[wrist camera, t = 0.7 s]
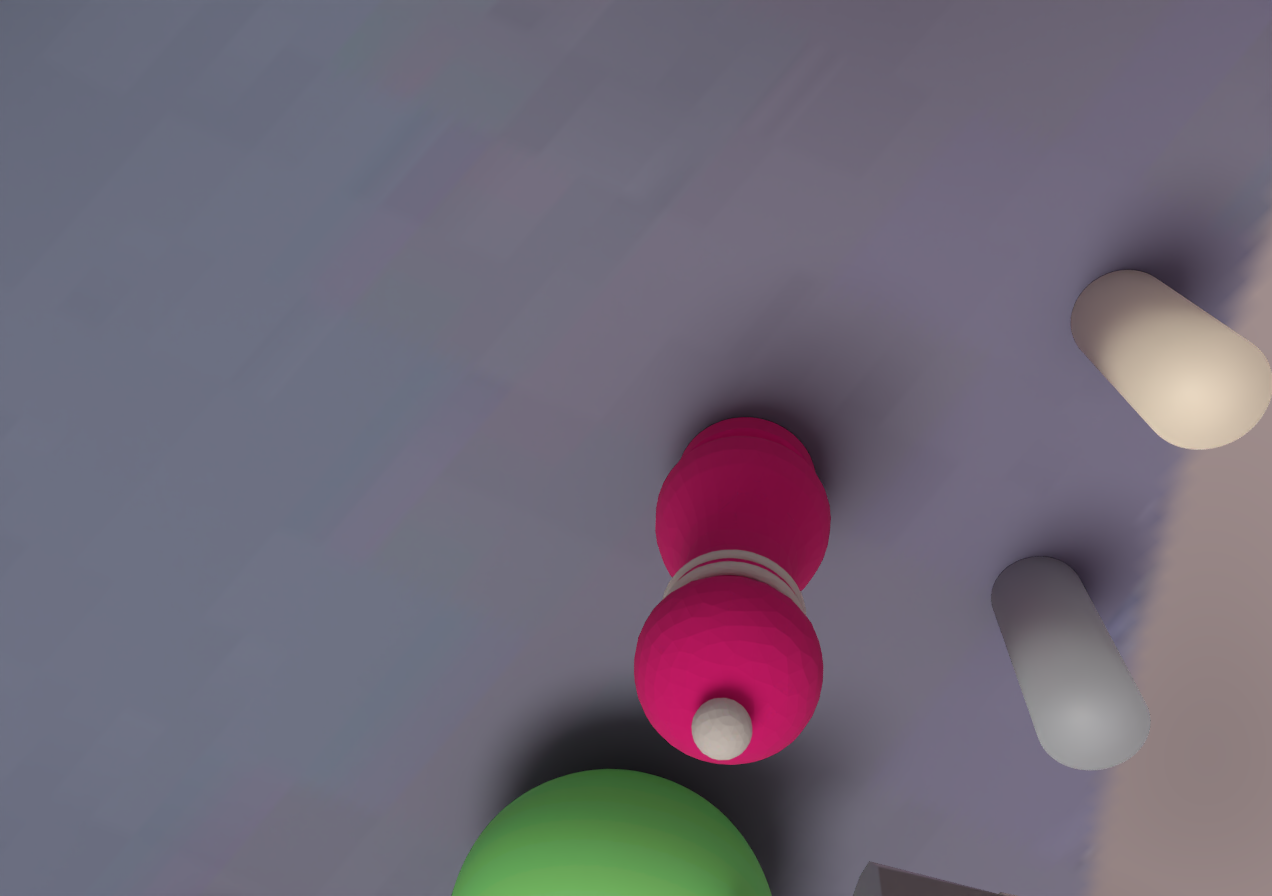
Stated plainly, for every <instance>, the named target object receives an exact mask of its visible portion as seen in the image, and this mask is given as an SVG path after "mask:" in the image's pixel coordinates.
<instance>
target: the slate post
mask: <svg viewBox="0 0 1272 896" xmlns="http://www.w3.org/2000/svg"><path fill="white" fill-rule="evenodd" d="M991 602H992V607H993V610H994V613H995V616H996V619H997V622H998V625H999V627H1000V630H1001V633H1002V636H1003V639H1004V642H1005V644H1006V647H1007V650H1008V653H1009V656H1010V659H1011V662H1012V664H1013V667H1014V670H1015V673H1016V676H1017V679H1018V682H1019V684H1020V687H1021V690H1022V693H1023V696H1024V699H1025V701H1026V704H1027V707H1028V710H1029V713H1030V716H1031V719H1032V721H1033V724H1034V727H1035V730H1036V733H1037V736H1038V739H1039V741H1040V743H1041V745H1042V747H1043V748H1044V750H1045V751H1046V752H1047V753H1048V754H1049V755H1050V756H1051V757H1052V758H1053V759H1055V760H1056V761H1058V762H1060V763H1061V764H1064V765H1066V766H1068V767H1072V768H1075V769H1080V770H1101V769H1106V768H1110V767H1113V766H1116V765H1118V764H1121V763H1123V762H1124V761H1126V760H1128V759H1129V758H1131V757H1132V756H1133V755H1134V754H1136V753H1137V752H1138V751H1139V749H1140V748H1141V747H1142V746H1143V744H1144V742H1145V741H1146V739H1147V736H1148V734H1149V730H1150V721H1151V720H1150V714H1149V710H1148V707H1147V705H1146V703H1145V701H1144V699H1143V697H1142V695H1141V693H1140V692H1139V690H1138V688H1137V686H1136V684H1135V682H1134V680H1133V678H1132V676H1131V674H1130V673H1129V671H1128V669H1127V667H1126V665H1125V663H1124V661H1123V659H1122V657H1121V656H1120V654H1119V652H1118V650H1117V648H1116V646H1115V644H1114V642H1113V640H1112V639H1111V637H1110V635H1109V633H1108V631H1107V629H1106V627H1105V625H1104V623H1103V622H1102V620H1101V618H1100V616H1099V614H1098V612H1097V610H1096V608H1095V606H1094V604H1093V603H1092V601H1091V599H1090V597H1089V595H1088V593H1087V591H1086V589H1085V587H1084V586H1083V584H1082V582H1081V580H1080V578H1079V576H1078V575H1077V573H1076V572H1075V571H1074V570H1073V569H1072V568H1071V567H1070V566H1068V565H1067V564H1065V563H1064V562H1062V561H1060V560H1057V559H1054V558H1049V557H1030V558H1026V559H1022V560H1020V561H1017V562H1015V563H1013V564H1012V565H1010V566H1009V567H1007V568H1006V569H1005V570H1004V571H1003V572H1002V573H1001V574H1000V575H999V577H998V578H997V580H996V581H995V583H994V586H993V589H992V594H991Z"/></svg>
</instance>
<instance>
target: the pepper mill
mask: <svg viewBox="0 0 1272 896" xmlns="http://www.w3.org/2000/svg"><path fill="white" fill-rule="evenodd" d="M830 521H831V515H830V506H829V502H828V499H827V495H826V492H825V489H824V487H823V485H822V483H821V481H820V480H819V478H818V476H817V475H816V473H815V468H814V465H813V462H812V459H811V457H810V455H809V453H808V451H807V450H806V448H805V447H804V445H803V444H802V443H801V442H800V441H799V440H798V439H797V438H796V437H795V436H794V435H793V434H792V433H791V432H789V431H788V430H787V429H785V428H783V427H782V426H780V425H778V424H775V423H773V422H771V421H767V420H763V419H759V418H752V417H739V418H731V419H727V420H723V421H720V422H718V423H715V424H713V425H711V426H709V427H708V428H706V429H705V430H703V431H702V432H700V433H699V434H698V435H697V436H696V437H695V438H694V439H693V440H692V441H691V442H690V443H689V445H688V446H687V448H686V449H685V451H684V453H683V455H682V457H681V460H680V461H679V462H678V463H677V464H676V465H675V467H674V468H673V469H672V470H671V472H670V473H669V475H668V476H667V478H666V480H665V481H664V483H663V486H662V488H661V491H660V493H659V497H658V502H657V507H656V530H655V531H656V538H657V544H658V547H659V550H660V553H661V556H662V559H663V561H664V564H665V566H666V568H667V570H668V572H669V574H670V575H671V577H672V579H671V580H670V582H669V584H668V586H667V588H666V590H665V592H664V596H663V600H662V601H661V602H660V603H659V604H658V605H657V606H656V607H655V608H654V609H653V611H652V612H651V614H650V616H649V617H648V619H647V620H646V622H645V624H644V626H643V628H642V631H641V633H640V635H639V637H638V642H637V647H636V653H635V658H634V677H635V684H636V689H637V694H638V698H639V701H640V703H641V705H642V708H643V710H644V712H645V715H646V716H647V718H648V720H649V721H650V723H651V724H652V726H653V727H654V728H655V729H656V731H657V732H658V733H659V734H660V735H661V736H662V737H663V738H664V739H665V740H666V741H667V742H668V743H669V744H671V745H672V746H673V747H675V748H677V749H678V750H680V751H681V752H683V753H685V754H686V755H689V756H691V757H694V758H696V759H699V760H702V761H706V762H711V763H715V764H727V765H736V764H745V763H751V762H755V761H759V760H763V759H765V758H767V757H769V756H772V755H774V754H776V753H778V752H780V751H781V750H782V749H784V748H785V747H786V746H788V745H789V744H791V743H792V742H793V741H794V740H795V739H796V738H797V737H798V735H799V734H800V733H801V732H802V730H803V729H804V728H805V726H806V725H807V723H808V722H809V720H810V719H811V717H812V716H813V713H814V711H815V708H816V706H817V703H818V701H819V697H820V692H821V687H822V682H823V660H822V653H821V648H820V644H819V640H818V638H817V636H816V633H815V631H814V628H813V626H812V624H811V622H810V621H809V619H808V618H807V617H806V609H805V604H804V600H803V597H802V594H801V592H800V591H802V590H803V589H804V588H805V586H806V585H807V584H808V582H809V581H810V580H811V578H812V577H813V575H814V574H815V572H816V571H817V569H818V567H819V566H820V564H821V562H822V560H823V558H824V555H825V551H826V548H827V545H828V539H829V533H830Z"/></svg>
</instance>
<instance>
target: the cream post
mask: <svg viewBox="0 0 1272 896" xmlns="http://www.w3.org/2000/svg"><path fill="white" fill-rule="evenodd" d="M1071 331H1072V335H1073V338H1074V340H1075V342H1076V344H1077V346H1078V347H1079V349H1080V350H1081V351H1082V352H1083V353H1084V354H1085V355H1086V356H1087V358H1088V359H1089V360H1090V361H1091V362H1092V363H1093V364H1094V365H1095V366H1096V367H1097V369H1098V370H1099V371H1100V372H1101V373H1102V374H1103V375H1104V376H1105V377H1106V378H1107V380H1108V381H1109V382H1110V383H1111V384H1112V385H1113V386H1114V387H1115V388H1116V389H1117V391H1118V392H1119V393H1120V394H1121V395H1122V396H1123V397H1124V398H1125V399H1126V401H1127V402H1128V403H1129V404H1130V405H1131V406H1132V407H1133V408H1134V409H1135V410H1136V412H1137V413H1138V414H1139V415H1140V416H1141V417H1142V418H1143V419H1144V420H1145V421H1146V423H1147V424H1148V425H1149V426H1150V427H1151V428H1152V429H1153V430H1154V431H1155V433H1156V434H1158V435H1159V436H1160V437H1161V438H1163V439H1164V440H1166V441H1167V442H1169V443H1171V444H1173V445H1176V446H1179V447H1182V448H1187V449H1197V450H1201V449H1211V448H1216V447H1220V446H1224V445H1226V444H1229V443H1231V442H1233V441H1235V440H1237V439H1238V438H1240V437H1242V436H1243V435H1245V434H1246V433H1247V432H1249V431H1250V430H1251V429H1252V428H1253V427H1254V426H1255V425H1256V424H1257V423H1258V421H1259V420H1260V419H1261V418H1262V416H1263V415H1264V413H1265V411H1266V409H1267V407H1268V405H1269V402H1270V400H1271V396H1272V372H1271V368H1270V365H1269V363H1268V361H1267V359H1266V357H1265V356H1264V355H1263V353H1262V352H1261V351H1260V350H1259V349H1258V348H1257V347H1256V346H1255V345H1254V344H1252V343H1251V342H1249V341H1248V340H1246V339H1245V338H1244V337H1242V336H1241V335H1239V334H1238V333H1236V332H1235V331H1233V330H1232V329H1230V328H1229V327H1227V326H1226V325H1224V324H1223V323H1221V322H1220V321H1218V320H1217V319H1216V318H1214V317H1213V316H1211V315H1210V314H1208V313H1207V312H1205V311H1204V310H1202V309H1201V308H1199V307H1198V306H1196V305H1195V304H1193V303H1192V302H1190V301H1189V300H1188V299H1186V298H1185V297H1183V296H1182V295H1180V294H1179V293H1177V292H1176V291H1174V290H1173V289H1171V288H1170V287H1168V286H1167V285H1165V284H1164V283H1163V282H1161V281H1160V280H1158V279H1157V278H1155V277H1154V276H1152V275H1150V274H1148V273H1145V272H1141V271H1137V270H1119V271H1114V272H1111V273H1108V274H1105V275H1103V276H1101V277H1099V278H1098V279H1096V280H1094V281H1093V282H1092V283H1091V284H1089V285H1088V286H1087V287H1086V288H1085V289H1084V290H1083V292H1082V293H1081V294H1080V296H1079V297H1078V299H1077V301H1076V303H1075V305H1074V307H1073V311H1072V315H1071Z"/></svg>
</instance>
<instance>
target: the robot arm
mask: <svg viewBox="0 0 1272 896" xmlns="http://www.w3.org/2000/svg"><path fill="white" fill-rule="evenodd" d="M853 896H1016V895H1012V894H1007V893H1003V892H1000V893H999V894H996V893H993V892H989V891H985V890H981V889H977V888H973V887H969V886H965V885H961V884H957V883H953V882H949V881H945V880H941V879H937V878H933V877H929V876H925V875H922V874H918V873H914V872H910V871H906V870H902V869H898V868H894V867H890V866H886V865H882V864H878V863H874V862H870V861H869V862H868V864H867V866H866V867H865V869H864V870H863V872H862V874H861V875H860V877H859V880H858V883H857V886H856V888H855V891H854V894H853Z"/></svg>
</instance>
